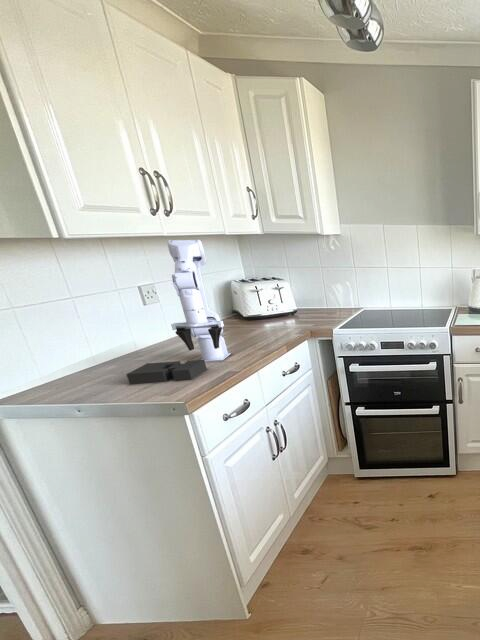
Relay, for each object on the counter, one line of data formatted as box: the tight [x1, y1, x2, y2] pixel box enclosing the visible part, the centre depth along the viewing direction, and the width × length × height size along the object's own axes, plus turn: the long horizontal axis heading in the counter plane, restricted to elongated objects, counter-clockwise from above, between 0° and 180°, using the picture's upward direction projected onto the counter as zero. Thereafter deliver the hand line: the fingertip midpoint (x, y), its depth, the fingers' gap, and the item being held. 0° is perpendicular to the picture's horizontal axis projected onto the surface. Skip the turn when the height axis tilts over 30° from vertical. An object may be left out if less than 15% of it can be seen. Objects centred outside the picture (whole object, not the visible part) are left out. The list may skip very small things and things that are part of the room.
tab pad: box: [168, 359, 207, 382], centre depth 142 cm, size 12×8×4 cm, turn 15°
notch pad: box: [126, 360, 182, 385], centre depth 140 cm, size 12×10×4 cm
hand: (204, 348), depth 142 cm, fingers open, 7 cm apart
